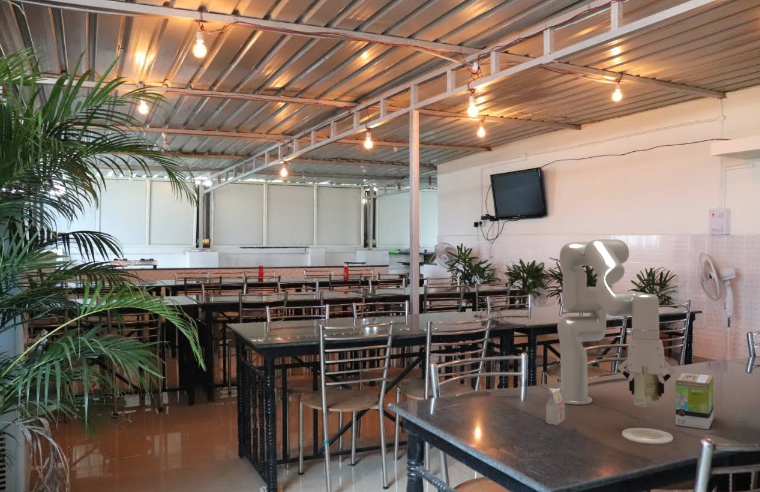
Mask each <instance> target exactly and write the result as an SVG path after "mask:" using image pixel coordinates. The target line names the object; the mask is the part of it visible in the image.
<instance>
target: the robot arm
mask: <svg viewBox="0 0 760 492" xmlns="http://www.w3.org/2000/svg"><path fill="white" fill-rule="evenodd" d="M629 257H630V250H629V247H628V245H627V243H625V241H623V240H621V239H618V238H617V239H616V238H615V239H614V238H613V239H609V238H608V239H603V238H602V239H593V240H590V241H588V242H586V241H582V242H581V241H578V242H577V241H576V242H570V243H566V244H564V245H563V246H562V247H561V249H560V251H559V263H560V268H561V273H562V295H561V297H562V299H561V301H562V306H563V307H562V308H563V309H564V310H565V312H567V313H573V314H577V313H579V314H581V313H582V314H584V313H585V314H586V313H589V315H570V316H569V315H568V316H564V317H561V318H560V319H559V321H558V322H557V333H558V334H557V335H558V339H559V347H560V348H559V349H560V387H558V388H554V387H549V389H548V390H549V392H548V393H549V394H551V393H553V392H555V391H557V390H560V393H561V396H562V398H563V400H564V402H565V405H566V404H567V405H580V406H581V405H590V404H591V403H592V402H593V398H592V397H591V396H589V393H588V390H589V387H588V385H589V384H588V383H589V382H588V381H589V380H588V379H589V378H588V376H589V375H588V352H587V350H586V349H585V348H584V346H583V345H582V343H583V342H597V341H602V340H603V339H604V338H605V336H606V333H607V331H606V330H607V315H608V316H610V317H631V330H627V331H626V336H631V338H629V341H628V346H627V358H626V359H625V360H624V361H623V362H621V363H620V364H619V365H618V366H617V370H619V371H620V373H622V375H623V376H624V377H625V378H626V379H627V381H628V388H629V389H628V390H629V392H631V395H633V396H634V375H635V373H638V374H640V373H641V371H642V366H648V374H652V375H657V376H658V378H659V398H661V397H662V395H663V394H665V383H666V382H667V381H668V380H669V379H671V377H673V376H674V375H675V374H676V372H677V371H676V368H675V367H673V366H672V365H671V364H670V363H668V362H667V361H666V360H665V359H666V358H665V348H664V344H663V340H662V339H660V303H659V302H660V300H659V297H658V295H656V294H653V293H645V292H642V291H612V290H611V288H610V286H612V285H615V284H616V283H617V282H620V280H621V279H622V278H623V277H624V275H625V273H626V272H625V267H624V265H623V264H624V263H626V262H627V261H628V259H629ZM583 266H585V267H587V266H591V267H592V269H593V271H594V273H595V274H596V275H597V277H598V278H597V280H596V281H595V282H596V283H595V286H587V281H588V276H587V273H586V272H585V270H584V268H583ZM625 367H627V370H628V371H627V370H626V369H625ZM665 369H667V370H668V372H667V373H666V374H665V375H663V374H664V373H665V371H666V370H665Z"/></svg>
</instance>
